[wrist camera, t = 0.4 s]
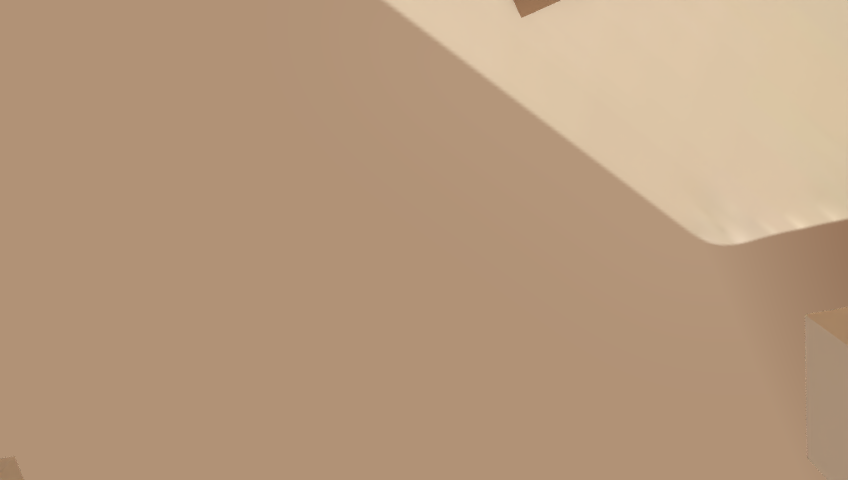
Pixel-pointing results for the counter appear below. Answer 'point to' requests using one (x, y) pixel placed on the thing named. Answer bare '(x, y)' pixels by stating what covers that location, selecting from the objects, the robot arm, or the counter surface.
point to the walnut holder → (532, 5)
